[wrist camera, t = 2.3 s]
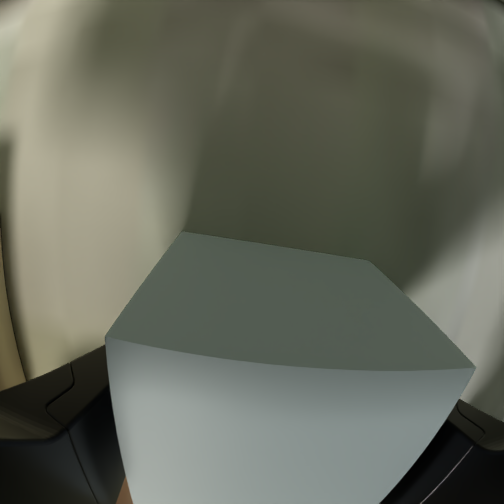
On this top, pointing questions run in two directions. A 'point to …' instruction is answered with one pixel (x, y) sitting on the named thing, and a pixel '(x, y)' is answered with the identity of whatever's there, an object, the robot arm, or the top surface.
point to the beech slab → (7, 341)
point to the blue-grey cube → (274, 377)
